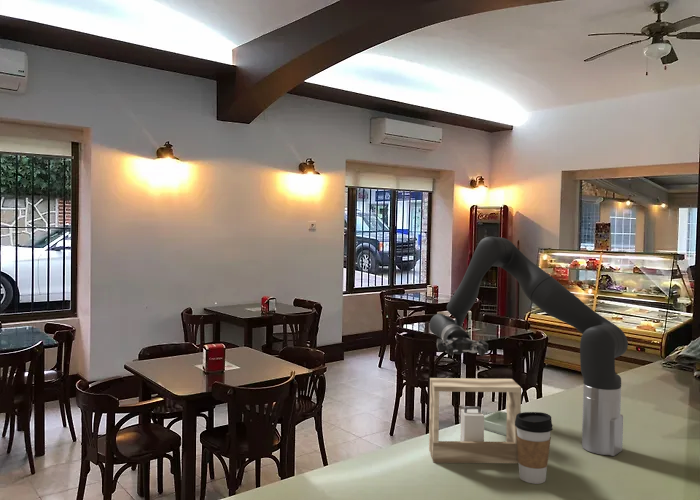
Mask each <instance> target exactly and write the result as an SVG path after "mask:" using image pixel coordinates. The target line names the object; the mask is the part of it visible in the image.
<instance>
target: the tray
mask: <svg viewBox="0 0 700 500" xmlns="http://www.w3.org/2000/svg"><path fill="white" fill-rule="evenodd" d="M506 425H507V411H506V412H505V411H502V410H496V411H494V412H492V413H489V414H487V415H484V431H487V432H488V431H489V432H492V433H496V434H497V435H503V436H504V437H506Z"/></svg>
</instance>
